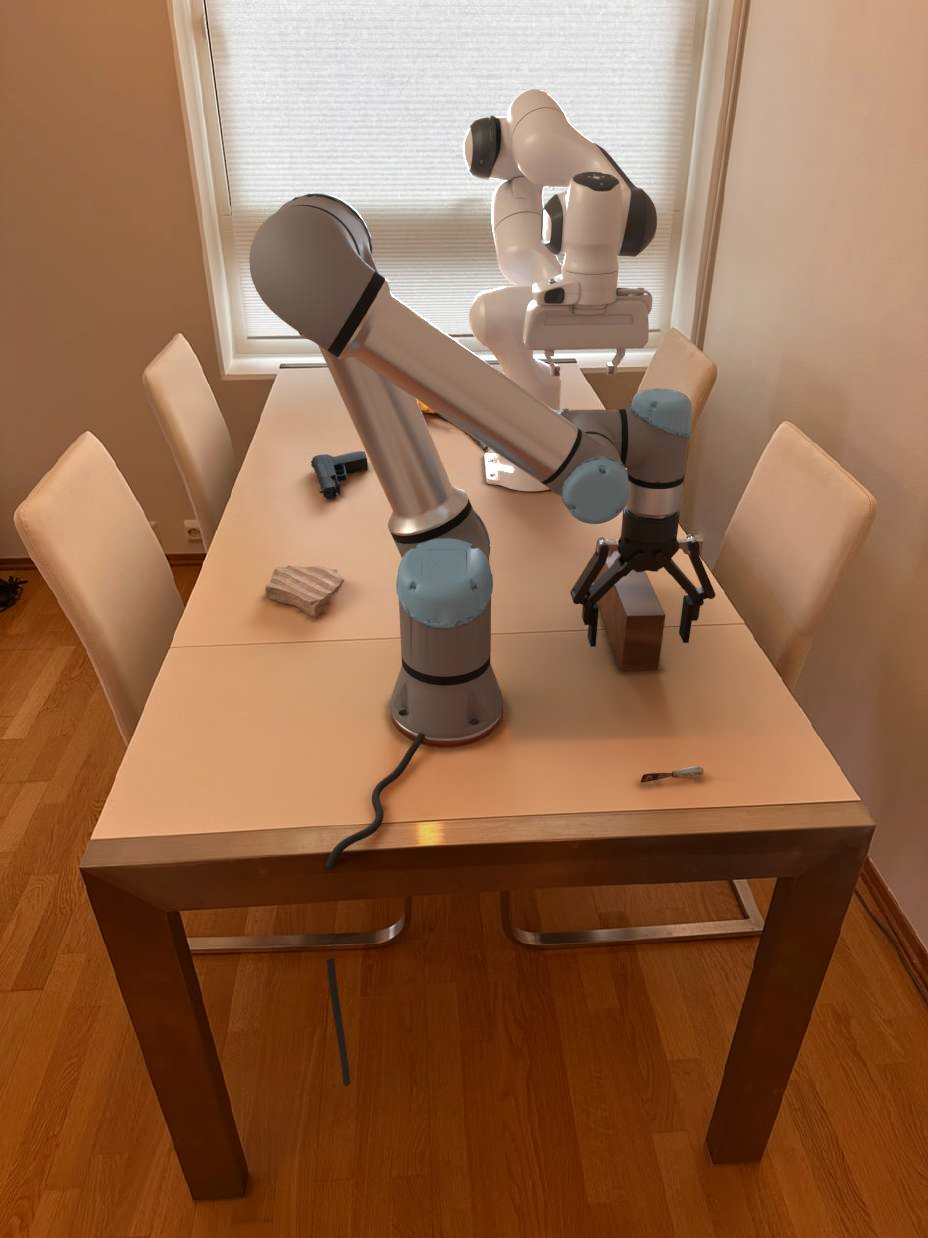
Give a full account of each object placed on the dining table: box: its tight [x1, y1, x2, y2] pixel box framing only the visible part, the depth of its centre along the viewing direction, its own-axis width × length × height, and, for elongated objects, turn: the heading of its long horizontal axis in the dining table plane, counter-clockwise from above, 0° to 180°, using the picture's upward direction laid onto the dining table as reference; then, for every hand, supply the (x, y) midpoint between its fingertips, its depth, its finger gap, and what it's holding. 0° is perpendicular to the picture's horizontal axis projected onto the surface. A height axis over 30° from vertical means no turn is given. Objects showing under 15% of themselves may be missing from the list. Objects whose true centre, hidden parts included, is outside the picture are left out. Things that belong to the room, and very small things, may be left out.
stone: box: [264, 565, 345, 618], centre depth 147 cm, size 13×12×3 cm
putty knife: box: [640, 765, 705, 784], centre depth 109 cm, size 1×8×2 cm, turn 103°
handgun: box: [310, 450, 369, 500], centre depth 187 cm, size 3×17×12 cm
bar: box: [593, 538, 666, 672], centre depth 137 cm, size 24×5×9 cm, turn 3°
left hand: (637, 640), depth 131 cm, fingers open, 13 cm apart
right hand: (582, 375), depth 148 cm, fingers open, 8 cm apart
